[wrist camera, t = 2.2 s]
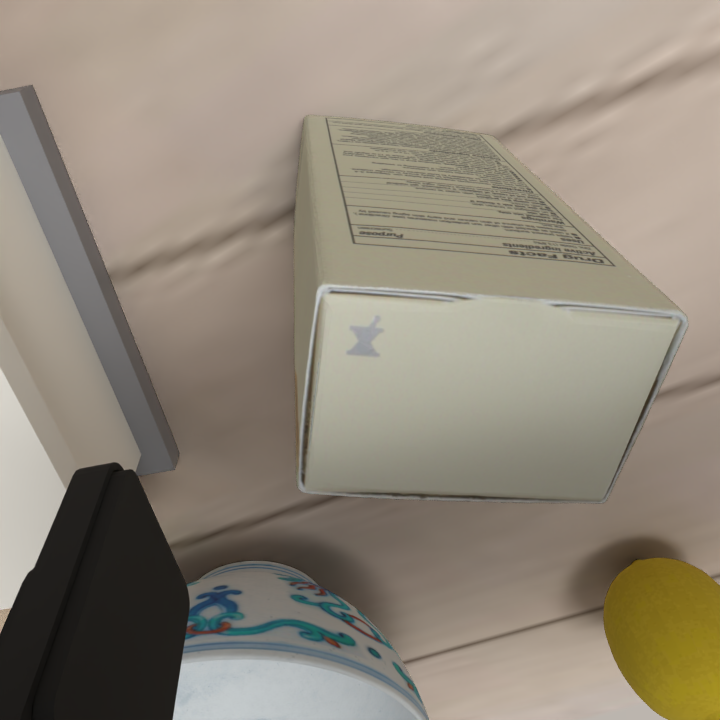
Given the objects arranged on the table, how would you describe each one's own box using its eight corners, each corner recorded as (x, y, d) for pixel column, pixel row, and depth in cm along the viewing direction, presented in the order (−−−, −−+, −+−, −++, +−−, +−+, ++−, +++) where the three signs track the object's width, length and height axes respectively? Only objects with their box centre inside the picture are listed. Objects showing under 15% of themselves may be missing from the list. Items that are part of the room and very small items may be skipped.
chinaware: (23, 561, 29) (-60, 737, 23) (333, 442, 27) (340, 602, 20) (200, 728, 37) (176, 896, 30) (454, 647, 34) (487, 811, 28)
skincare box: (291, 243, 22) (274, 500, 12) (302, 108, 20) (293, 279, 10) (477, 262, 23) (613, 518, 13) (508, 133, 21) (703, 317, 10)
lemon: (593, 613, 34) (664, 781, 27) (567, 544, 31) (640, 712, 24) (702, 579, 33) (804, 744, 26) (686, 505, 30) (796, 667, 23)
